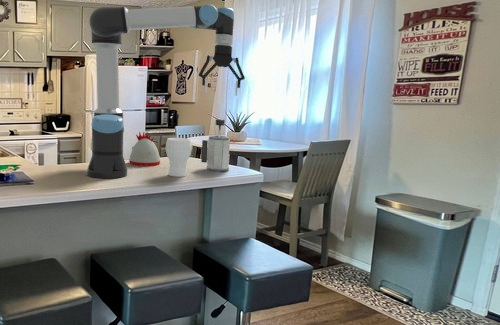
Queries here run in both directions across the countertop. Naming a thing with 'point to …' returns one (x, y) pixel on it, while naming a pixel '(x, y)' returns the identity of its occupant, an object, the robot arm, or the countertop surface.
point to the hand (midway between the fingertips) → (220, 94)
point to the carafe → (216, 153)
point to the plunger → (220, 123)
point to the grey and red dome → (144, 152)
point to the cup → (178, 155)
